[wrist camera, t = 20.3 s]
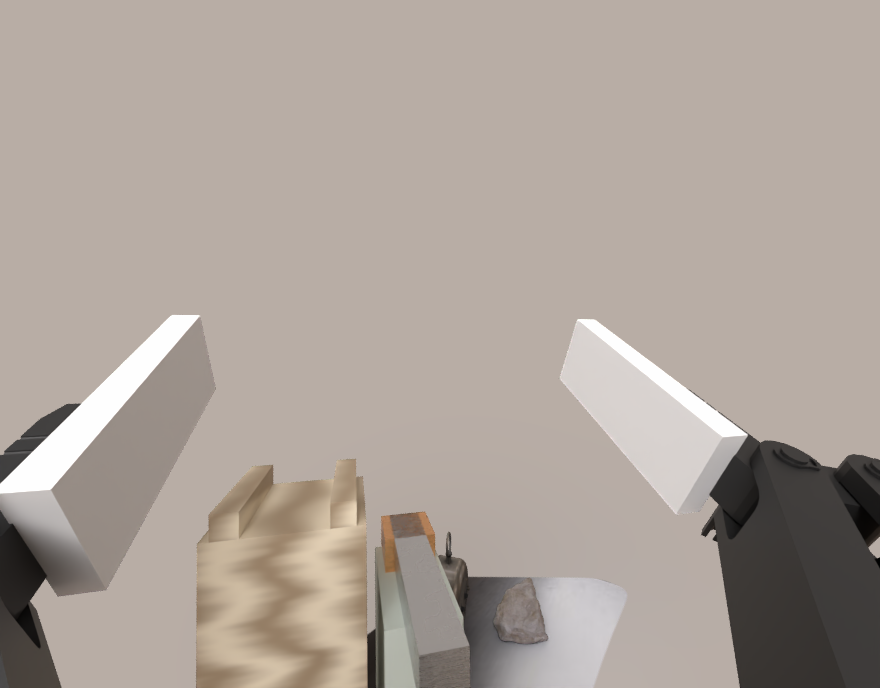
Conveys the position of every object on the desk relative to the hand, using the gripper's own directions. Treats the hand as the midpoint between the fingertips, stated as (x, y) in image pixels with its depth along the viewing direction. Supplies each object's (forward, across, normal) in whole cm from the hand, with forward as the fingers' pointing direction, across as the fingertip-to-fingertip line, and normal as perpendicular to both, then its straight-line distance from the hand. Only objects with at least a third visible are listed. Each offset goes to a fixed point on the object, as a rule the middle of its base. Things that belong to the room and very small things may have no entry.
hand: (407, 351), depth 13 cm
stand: (-2, -7, -49) cm, 50 cm away
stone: (+14, +24, -59) cm, 65 cm away
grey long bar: (+8, +4, -32) cm, 33 cm away
